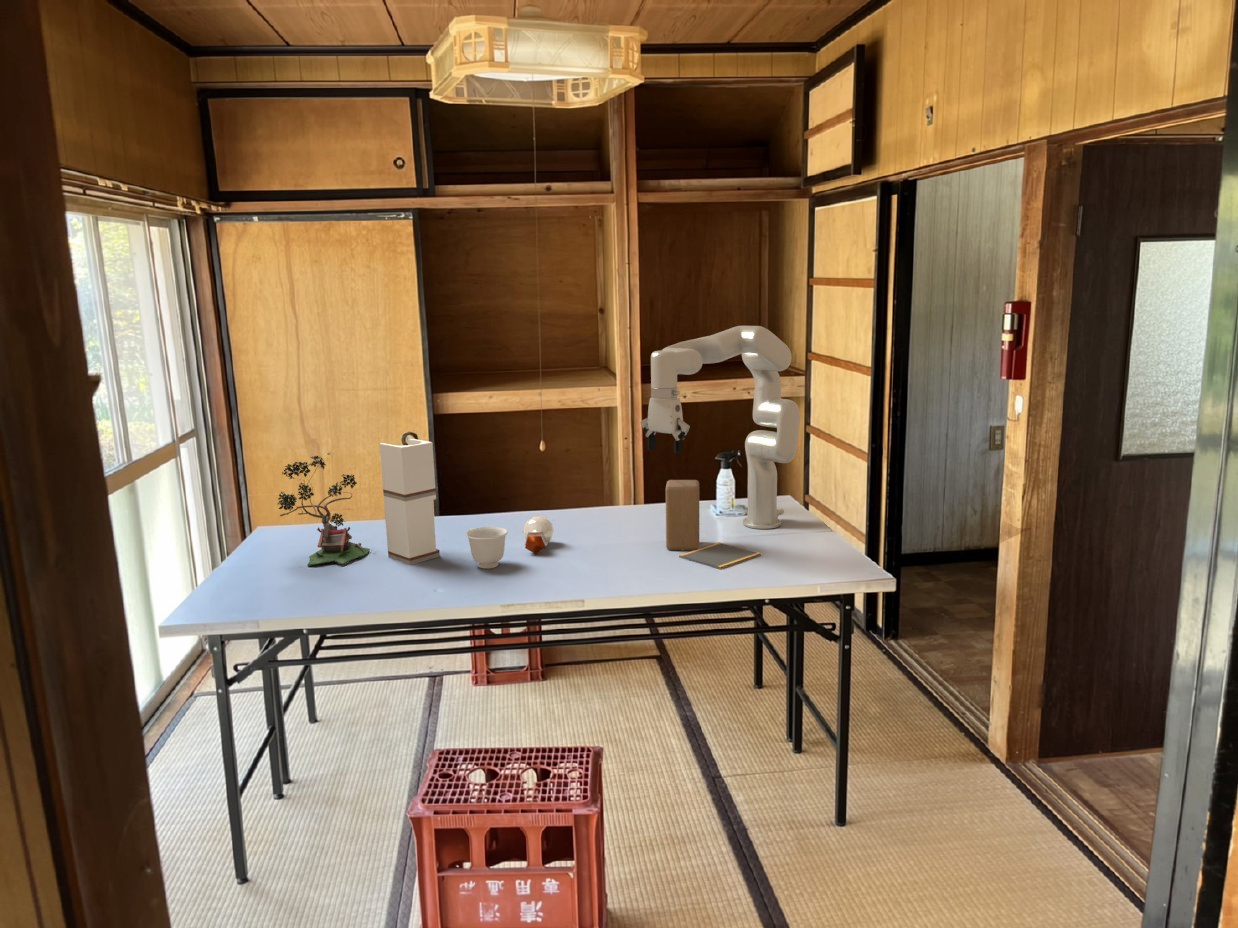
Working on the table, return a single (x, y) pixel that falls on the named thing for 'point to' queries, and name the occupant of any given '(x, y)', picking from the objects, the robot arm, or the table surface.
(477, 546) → the teacup
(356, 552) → the bonsai tree
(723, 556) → the mat
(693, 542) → the block
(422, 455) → the white banded pillar
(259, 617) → the table surface
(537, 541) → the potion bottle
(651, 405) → the robot arm
